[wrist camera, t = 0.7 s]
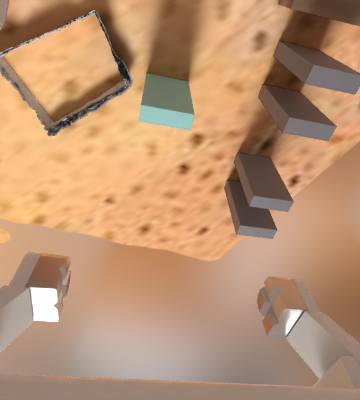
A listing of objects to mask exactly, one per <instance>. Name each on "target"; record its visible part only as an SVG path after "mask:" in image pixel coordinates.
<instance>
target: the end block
mask: <svg viewBox="0 0 360 400" xmlns="http://www.w3.org/2000/svg"><path fill="white" fill-rule="evenodd" d="M278 4H279V5H282V6H285V7H287V8H290V9H294V10H298V11H302V12H306V13H310V14H314V15H318V16H321V17H325V18H329V19H333V20H337V21H341V22H345V23H349V24H353V25H357V26H360V0H279V3H278Z"/></svg>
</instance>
